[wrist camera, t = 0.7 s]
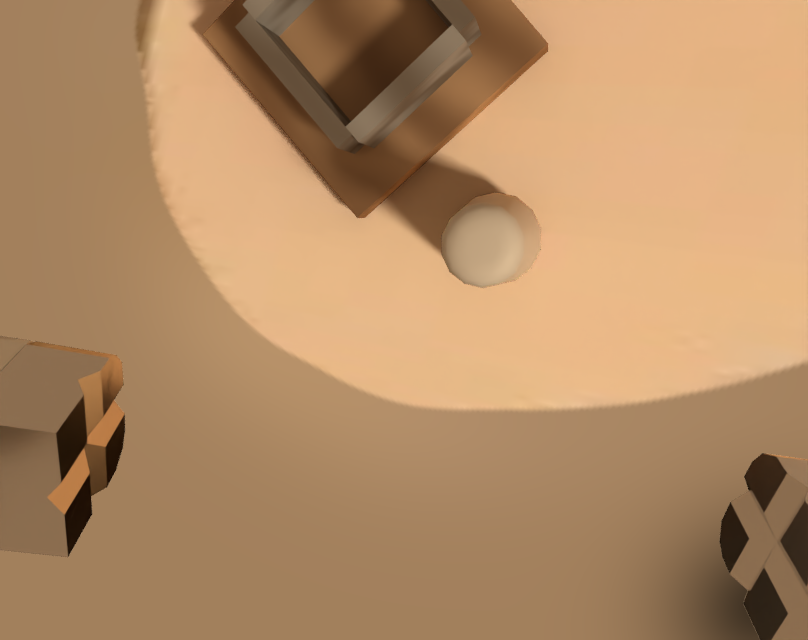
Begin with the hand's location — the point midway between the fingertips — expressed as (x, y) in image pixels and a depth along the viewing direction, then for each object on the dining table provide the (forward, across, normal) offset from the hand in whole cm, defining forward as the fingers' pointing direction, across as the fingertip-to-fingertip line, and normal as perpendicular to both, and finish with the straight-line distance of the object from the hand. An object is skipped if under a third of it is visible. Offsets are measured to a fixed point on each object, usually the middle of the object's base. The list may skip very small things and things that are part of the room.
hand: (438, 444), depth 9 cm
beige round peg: (+37, -7, +12) cm, 40 cm away
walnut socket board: (+43, +3, +2) cm, 43 cm away
